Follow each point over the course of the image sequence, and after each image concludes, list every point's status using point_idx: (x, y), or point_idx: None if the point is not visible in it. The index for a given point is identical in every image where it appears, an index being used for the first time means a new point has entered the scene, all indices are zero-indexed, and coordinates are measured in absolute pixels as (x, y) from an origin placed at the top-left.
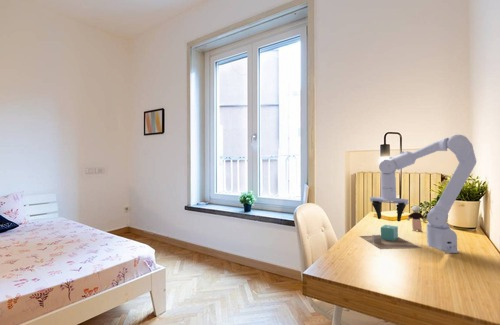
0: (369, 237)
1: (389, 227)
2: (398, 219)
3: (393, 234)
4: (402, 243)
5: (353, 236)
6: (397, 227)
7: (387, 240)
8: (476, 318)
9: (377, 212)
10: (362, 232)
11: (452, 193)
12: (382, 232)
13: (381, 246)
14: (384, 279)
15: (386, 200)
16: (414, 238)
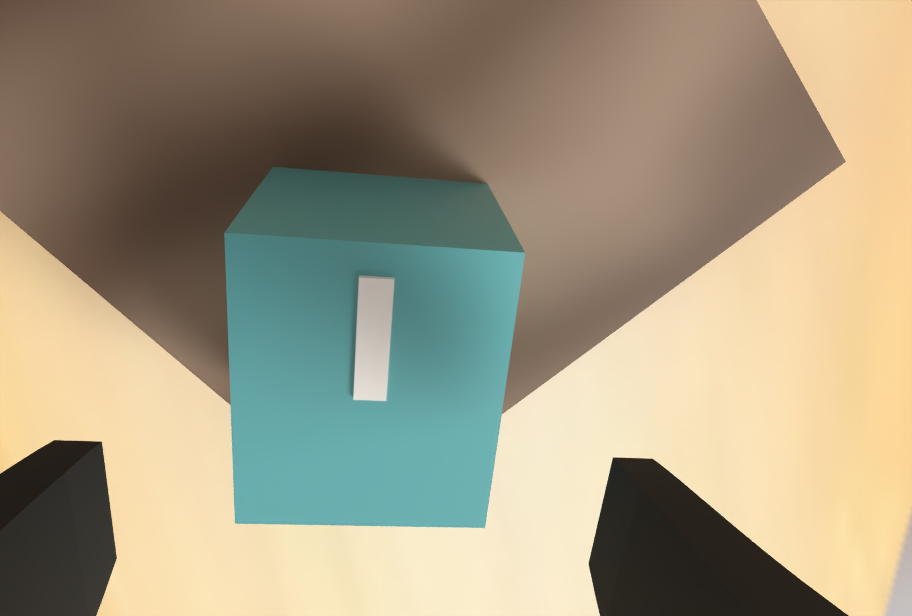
0: (673, 168)
1: (349, 339)
2: (28, 461)
3: (255, 197)
4: (110, 100)
5: (903, 238)
6: (237, 494)
7: (374, 151)
8: None
9: (762, 583)
10: (786, 507)
11: None
12: (473, 214)
13: None
14: None
15: None
16: (142, 593)
